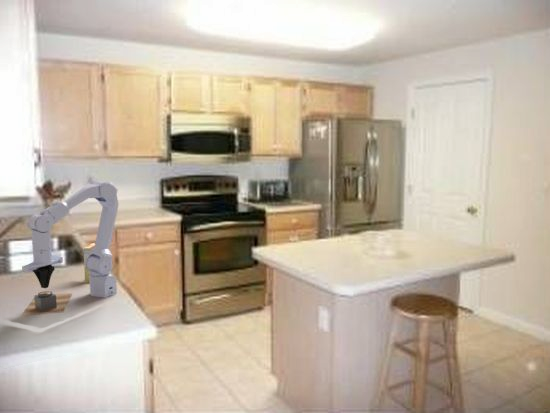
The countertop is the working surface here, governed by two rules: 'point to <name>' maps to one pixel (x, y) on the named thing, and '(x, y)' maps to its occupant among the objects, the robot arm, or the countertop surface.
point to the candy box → (86, 254)
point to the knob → (45, 301)
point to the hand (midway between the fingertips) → (44, 287)
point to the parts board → (61, 304)
